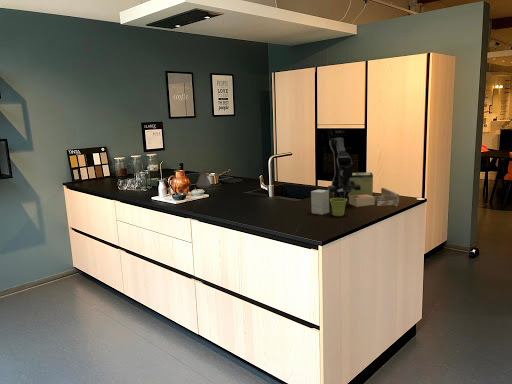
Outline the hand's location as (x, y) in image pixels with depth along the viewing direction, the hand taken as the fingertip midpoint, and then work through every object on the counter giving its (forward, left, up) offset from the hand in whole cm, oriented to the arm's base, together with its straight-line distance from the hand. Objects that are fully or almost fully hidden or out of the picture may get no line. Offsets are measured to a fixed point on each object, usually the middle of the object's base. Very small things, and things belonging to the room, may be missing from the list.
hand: (344, 202), depth 251 cm
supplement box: (-18, -14, -2) cm, 23 cm away
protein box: (+17, +20, -2) cm, 26 cm away
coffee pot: (-83, +90, -2) cm, 122 cm away
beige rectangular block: (+11, 0, -2) cm, 11 cm away
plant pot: (-10, -22, -2) cm, 24 cm away
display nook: (+22, 0, -2) cm, 22 cm away
